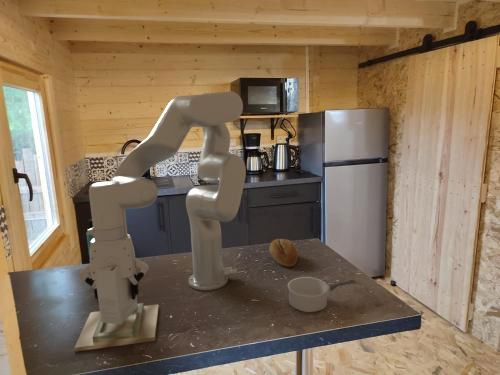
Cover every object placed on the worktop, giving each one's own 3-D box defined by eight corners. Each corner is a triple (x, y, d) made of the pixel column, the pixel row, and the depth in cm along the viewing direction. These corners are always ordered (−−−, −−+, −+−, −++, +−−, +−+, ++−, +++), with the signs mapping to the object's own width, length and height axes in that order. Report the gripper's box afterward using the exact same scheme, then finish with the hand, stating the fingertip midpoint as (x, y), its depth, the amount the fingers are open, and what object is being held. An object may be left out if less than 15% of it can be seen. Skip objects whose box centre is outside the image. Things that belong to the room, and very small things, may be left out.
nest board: (158, 307, 97) (158, 299, 97) (154, 340, 83) (153, 331, 82) (91, 315, 94) (90, 307, 93) (74, 351, 80) (73, 342, 79)
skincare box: (119, 305, 93) (112, 254, 90) (139, 307, 91) (133, 255, 88) (100, 324, 84) (92, 267, 82) (122, 326, 83) (115, 269, 80)
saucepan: (363, 308, 95) (364, 289, 94) (295, 318, 91) (295, 299, 90) (344, 288, 106) (344, 271, 105) (282, 296, 102) (282, 279, 101)
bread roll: (277, 271, 119) (277, 249, 117) (264, 255, 133) (264, 235, 131) (303, 267, 121) (303, 246, 119) (287, 251, 135) (287, 232, 134)
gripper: (67, 240, 78) (76, 311, 82) (146, 234, 81) (152, 302, 85) (76, 230, 85) (85, 295, 89) (149, 225, 88) (154, 288, 92)
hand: (117, 298), depth 87 cm, fingers closed on skincare box, 7 cm apart
